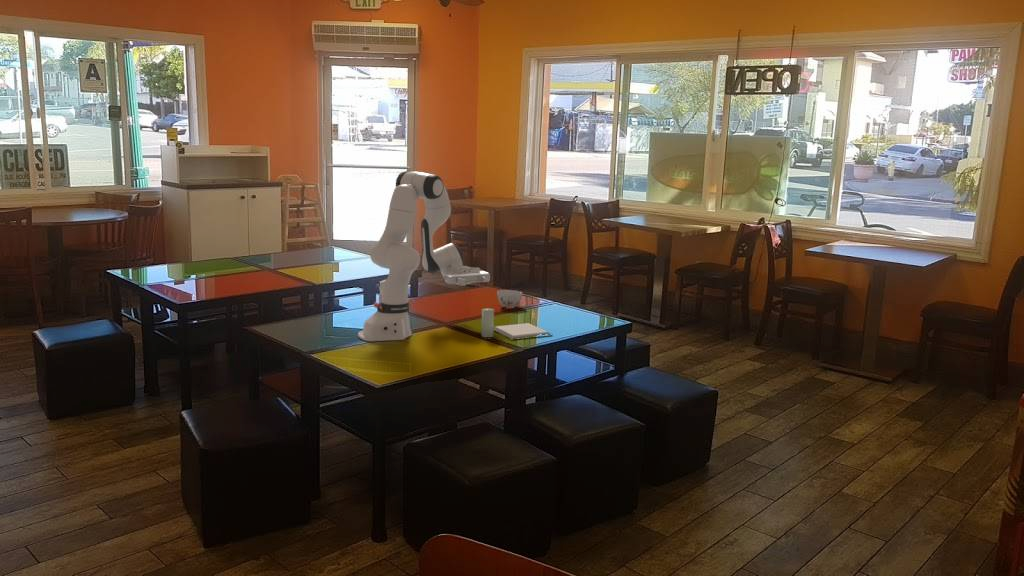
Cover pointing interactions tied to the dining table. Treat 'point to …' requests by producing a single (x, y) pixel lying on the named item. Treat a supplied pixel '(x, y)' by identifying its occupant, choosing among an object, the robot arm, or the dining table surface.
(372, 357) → the dining table surface
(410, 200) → the robot arm
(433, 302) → the dining table surface
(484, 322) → the grey upright block
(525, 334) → the tile
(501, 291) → the teacup
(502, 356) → the dining table surface
